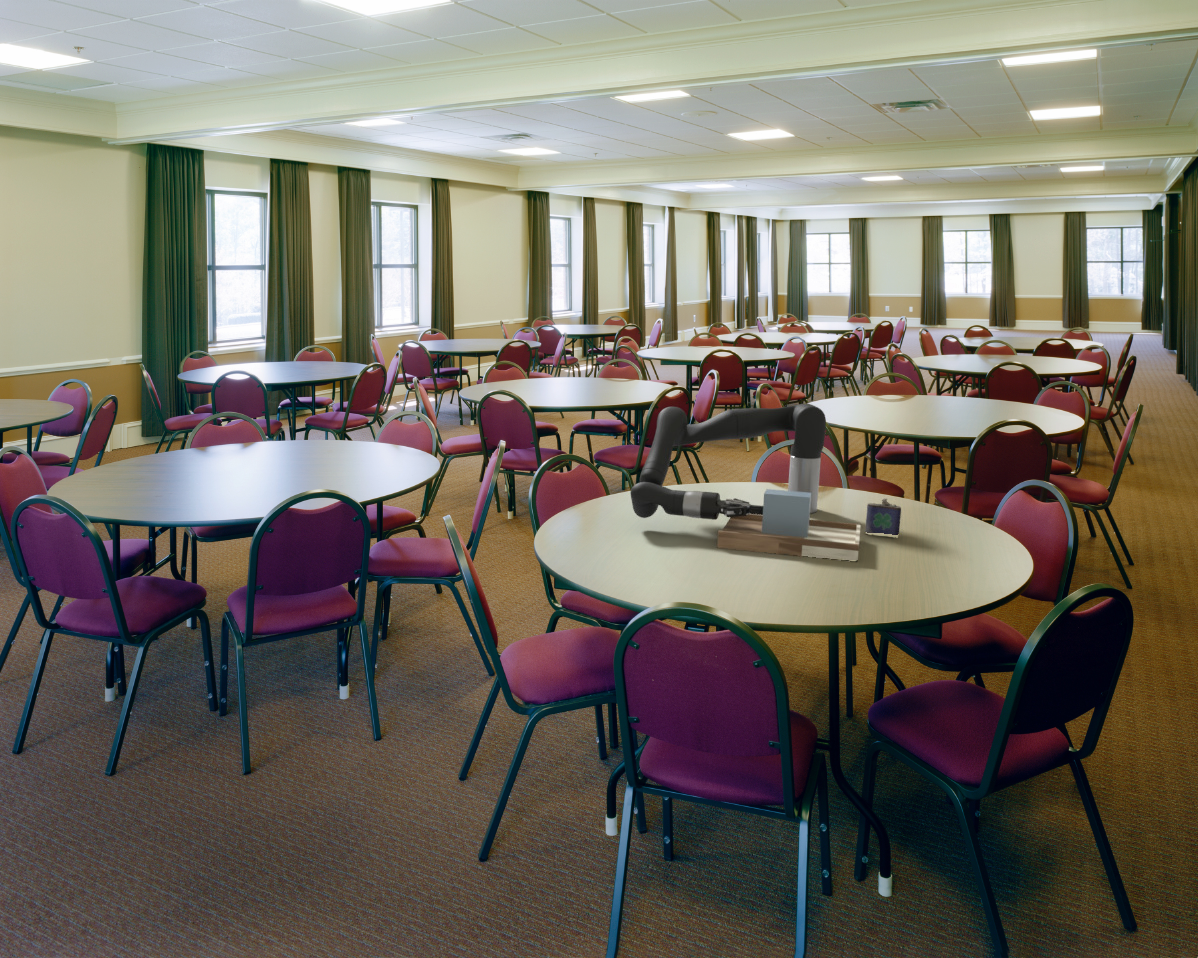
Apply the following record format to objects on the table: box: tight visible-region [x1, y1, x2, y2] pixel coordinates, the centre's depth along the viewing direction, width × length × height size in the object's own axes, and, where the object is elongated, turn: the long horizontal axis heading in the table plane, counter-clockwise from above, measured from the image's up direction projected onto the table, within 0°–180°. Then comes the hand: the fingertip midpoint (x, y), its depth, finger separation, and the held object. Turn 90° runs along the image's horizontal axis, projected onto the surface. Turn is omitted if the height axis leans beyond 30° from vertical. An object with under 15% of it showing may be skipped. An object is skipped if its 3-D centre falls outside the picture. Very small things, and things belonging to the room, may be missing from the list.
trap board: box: [716, 514, 861, 560], centre depth 241 cm, size 22×36×4 cm, turn 73°
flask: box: [864, 498, 902, 535], centre depth 251 cm, size 9×3×11 cm, turn 65°
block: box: [762, 488, 811, 538], centre depth 240 cm, size 6×12×11 cm, turn 73°
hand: (764, 510), depth 242 cm, fingers closed
